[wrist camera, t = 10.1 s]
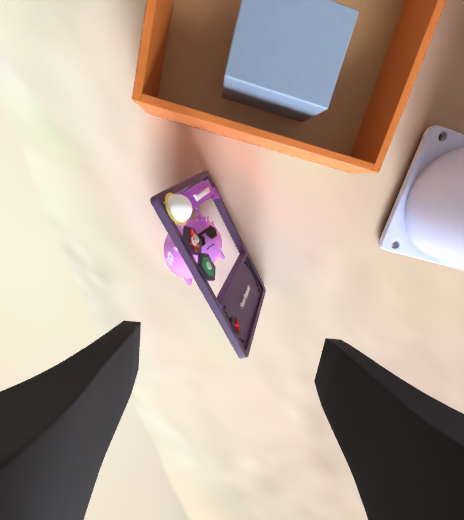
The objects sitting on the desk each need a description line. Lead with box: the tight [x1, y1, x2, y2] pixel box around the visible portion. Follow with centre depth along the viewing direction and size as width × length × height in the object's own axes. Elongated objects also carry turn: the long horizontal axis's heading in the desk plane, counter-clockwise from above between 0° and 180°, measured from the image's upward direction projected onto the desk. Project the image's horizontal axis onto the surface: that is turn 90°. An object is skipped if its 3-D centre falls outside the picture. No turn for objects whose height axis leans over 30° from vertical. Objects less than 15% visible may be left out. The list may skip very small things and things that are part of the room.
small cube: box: [222, 0, 359, 122], centre depth 15 cm, size 5×4×4 cm
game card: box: [150, 171, 265, 358], centre depth 17 cm, size 7×5×9 cm
